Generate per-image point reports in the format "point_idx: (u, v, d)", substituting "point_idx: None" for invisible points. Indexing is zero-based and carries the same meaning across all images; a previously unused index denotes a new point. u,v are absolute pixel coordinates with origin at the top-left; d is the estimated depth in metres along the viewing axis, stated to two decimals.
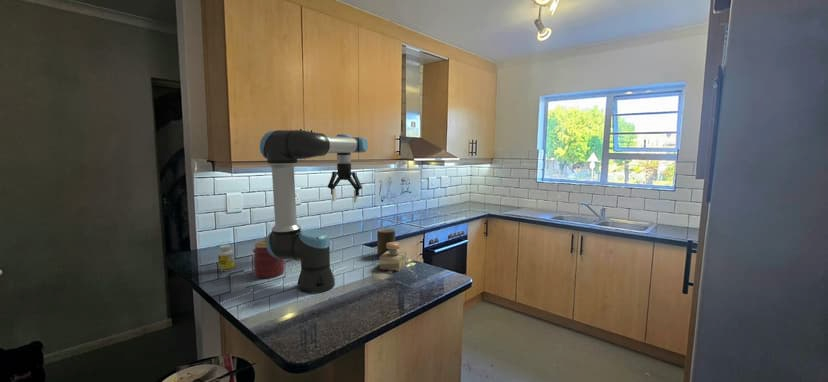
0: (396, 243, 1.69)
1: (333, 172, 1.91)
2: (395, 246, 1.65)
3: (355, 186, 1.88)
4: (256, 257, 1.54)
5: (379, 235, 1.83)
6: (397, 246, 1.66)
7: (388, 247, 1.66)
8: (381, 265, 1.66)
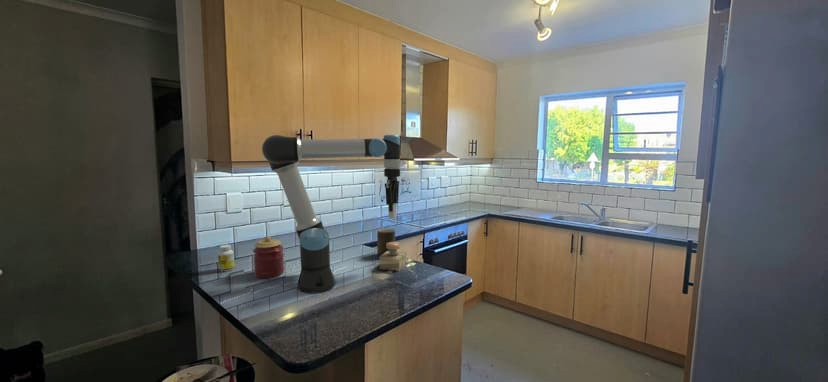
0: (396, 243, 1.69)
1: None
2: (395, 246, 1.65)
3: None
4: (256, 257, 1.54)
5: (379, 235, 1.83)
6: (397, 246, 1.66)
7: (388, 247, 1.66)
8: (381, 265, 1.66)
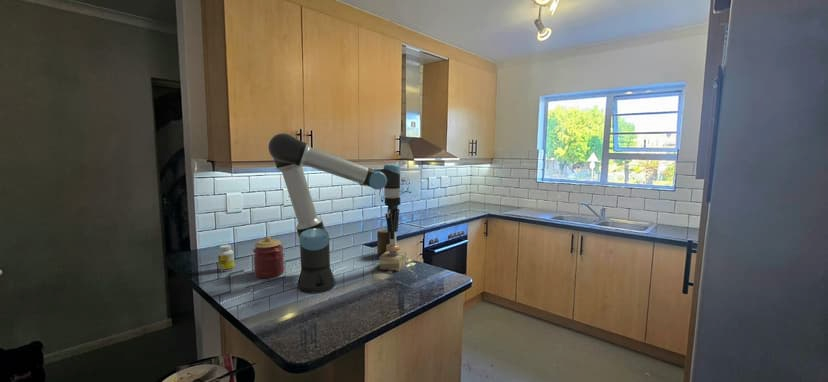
0: (396, 245, 1.69)
1: None
2: (395, 248, 1.65)
3: None
4: (256, 257, 1.54)
5: (379, 235, 1.83)
6: (397, 248, 1.66)
7: (388, 249, 1.66)
8: (381, 265, 1.66)
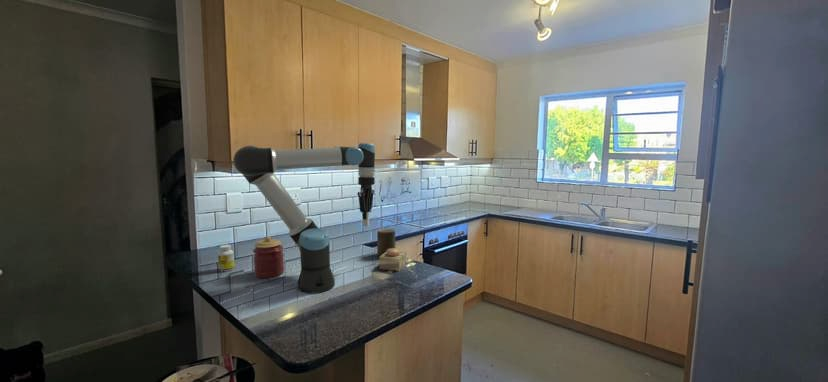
0: (396, 249, 1.69)
1: None
2: (395, 253, 1.66)
3: None
4: (256, 257, 1.54)
5: (379, 235, 1.83)
6: (397, 253, 1.66)
7: (388, 254, 1.66)
8: (381, 265, 1.66)
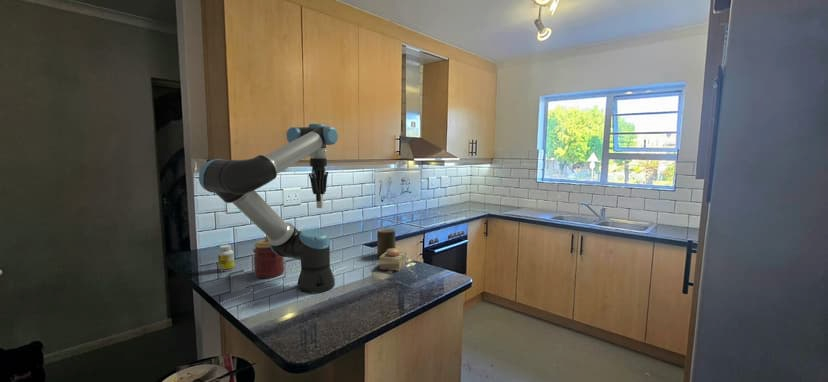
0: (396, 249, 1.69)
1: None
2: (395, 253, 1.66)
3: None
4: (256, 257, 1.54)
5: (379, 235, 1.83)
6: (397, 253, 1.66)
7: (388, 254, 1.66)
8: (381, 265, 1.66)
